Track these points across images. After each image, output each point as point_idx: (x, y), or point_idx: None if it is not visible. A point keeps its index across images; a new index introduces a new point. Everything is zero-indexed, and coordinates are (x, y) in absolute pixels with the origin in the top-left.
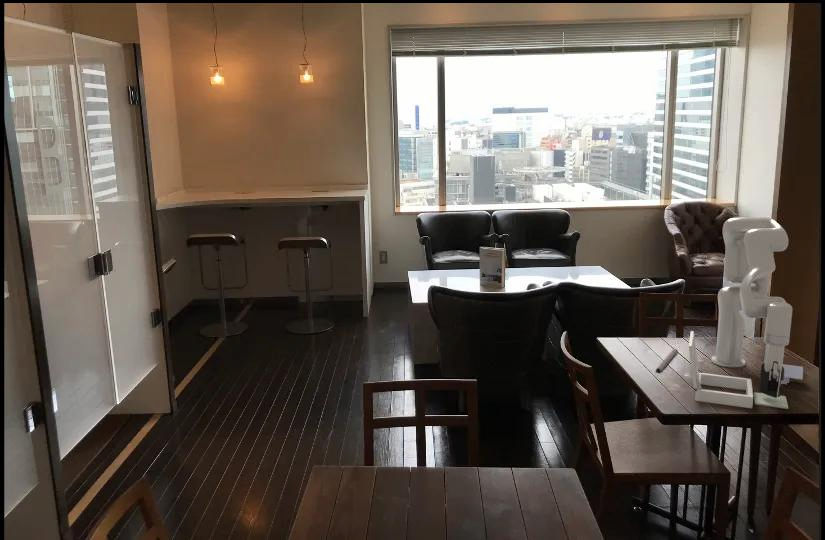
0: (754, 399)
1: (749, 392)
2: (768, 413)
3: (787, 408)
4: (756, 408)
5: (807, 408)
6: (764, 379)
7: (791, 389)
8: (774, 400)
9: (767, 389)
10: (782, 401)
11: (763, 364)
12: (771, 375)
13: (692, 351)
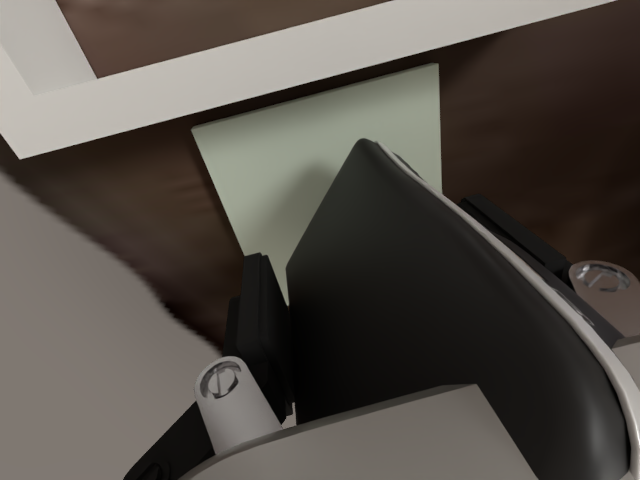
0: (284, 103)
1: (142, 85)
2: (95, 242)
3: None
4: (116, 155)
5: None
6: (370, 246)
7: (586, 251)
8: None
9: (244, 263)
10: None
11: (541, 431)
12: (339, 388)
13: None
